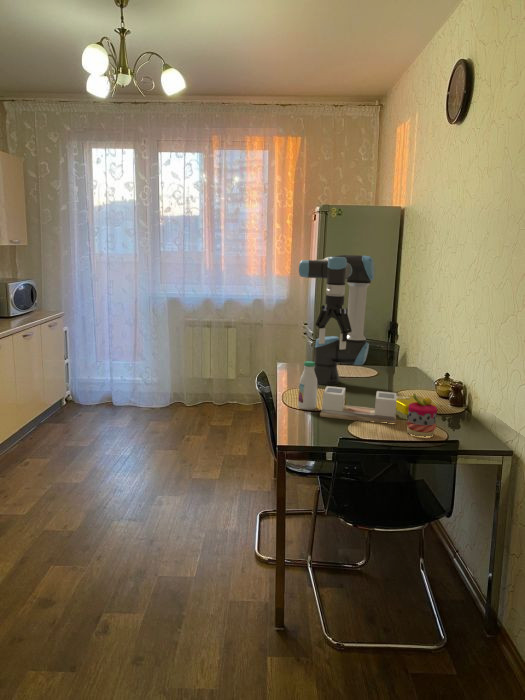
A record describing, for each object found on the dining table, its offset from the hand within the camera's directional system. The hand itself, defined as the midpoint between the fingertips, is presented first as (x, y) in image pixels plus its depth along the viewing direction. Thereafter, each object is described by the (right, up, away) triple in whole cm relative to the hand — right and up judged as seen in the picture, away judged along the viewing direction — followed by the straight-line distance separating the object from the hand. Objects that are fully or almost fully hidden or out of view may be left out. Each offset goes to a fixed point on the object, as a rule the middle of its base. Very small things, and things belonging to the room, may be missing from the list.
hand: (331, 346), depth 220 cm
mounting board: (+11, -28, -1) cm, 31 cm away
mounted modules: (+11, -27, -2) cm, 29 cm away
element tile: (+36, -28, +11) cm, 47 cm away
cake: (+31, -33, -21) cm, 50 cm away
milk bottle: (-10, -26, +7) cm, 29 cm away
